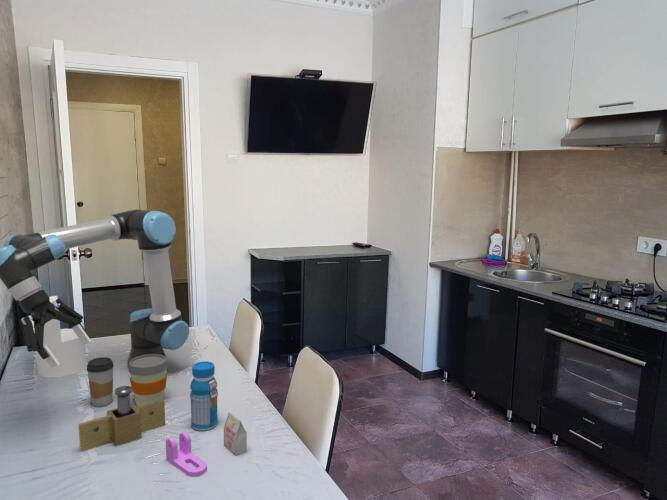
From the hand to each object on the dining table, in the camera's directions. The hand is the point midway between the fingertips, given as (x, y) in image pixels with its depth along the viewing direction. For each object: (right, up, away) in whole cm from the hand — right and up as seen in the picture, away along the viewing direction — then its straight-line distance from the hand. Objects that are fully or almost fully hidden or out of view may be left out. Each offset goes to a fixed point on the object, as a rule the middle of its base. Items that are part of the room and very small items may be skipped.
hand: (72, 354), depth 149 cm
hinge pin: (+16, -25, 0) cm, 30 cm away
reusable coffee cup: (+15, -21, +22) cm, 34 cm away
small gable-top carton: (+50, -27, -5) cm, 57 cm away
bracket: (+39, -28, -13) cm, 50 cm away
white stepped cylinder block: (-29, -16, +49) cm, 59 cm away
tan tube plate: (+16, -25, 0) cm, 29 cm away
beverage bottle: (+38, -24, +8) cm, 46 cm away
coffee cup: (-1, -21, +21) cm, 30 cm away
